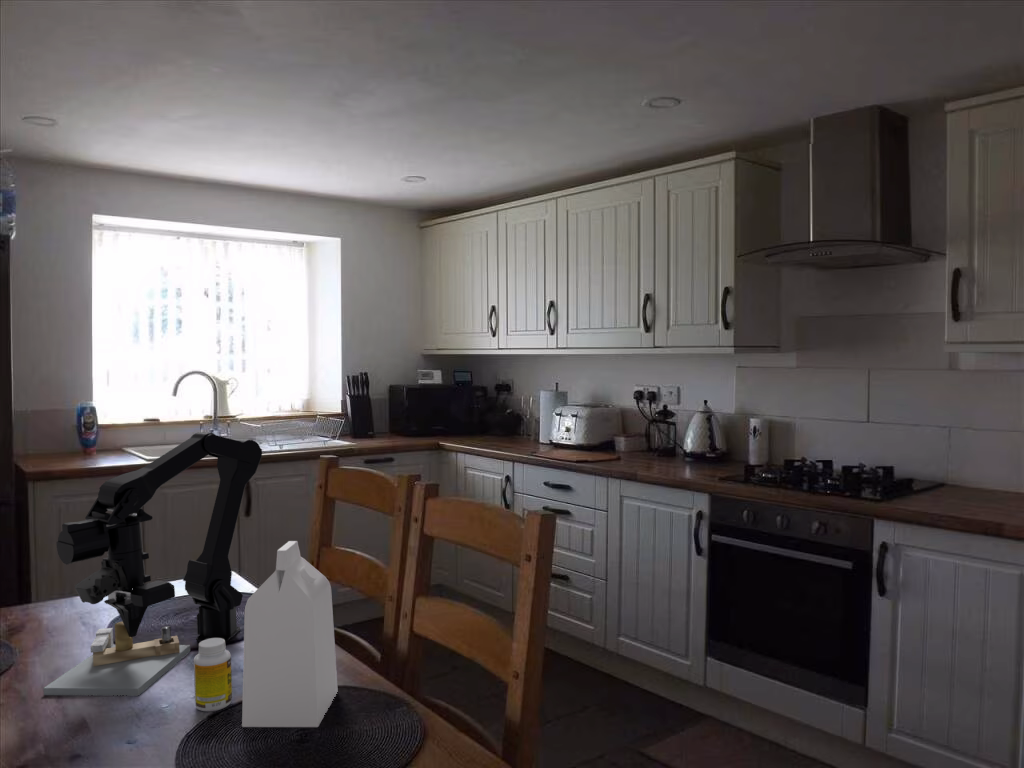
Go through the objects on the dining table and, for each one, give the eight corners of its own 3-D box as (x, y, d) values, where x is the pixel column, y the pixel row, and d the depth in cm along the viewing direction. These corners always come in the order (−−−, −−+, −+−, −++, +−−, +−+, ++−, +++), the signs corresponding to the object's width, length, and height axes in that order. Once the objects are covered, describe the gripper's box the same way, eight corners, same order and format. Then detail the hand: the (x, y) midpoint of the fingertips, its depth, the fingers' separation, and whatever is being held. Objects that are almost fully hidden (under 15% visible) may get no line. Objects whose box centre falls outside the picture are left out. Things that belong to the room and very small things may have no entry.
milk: (268, 692, 132) (264, 536, 131) (337, 692, 132) (333, 536, 130) (241, 726, 120) (236, 556, 119) (317, 727, 120) (313, 555, 118)
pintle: (173, 649, 148) (172, 626, 148) (169, 652, 146) (168, 629, 146) (164, 649, 148) (163, 626, 148) (160, 652, 146) (159, 629, 146)
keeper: (113, 647, 149) (112, 627, 149) (105, 664, 141) (104, 643, 141) (99, 649, 149) (98, 629, 148) (90, 666, 141) (89, 644, 141)
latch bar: (177, 645, 150) (176, 612, 150) (179, 652, 146) (178, 618, 146) (93, 659, 143) (91, 625, 143) (93, 667, 140) (91, 632, 140)
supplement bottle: (234, 708, 126) (232, 644, 126) (196, 716, 124) (194, 651, 123) (230, 694, 131) (228, 633, 131) (193, 701, 129) (191, 639, 128)
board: (190, 651, 150) (190, 645, 150) (138, 695, 131) (137, 688, 131) (107, 650, 151) (107, 644, 151) (43, 695, 132) (43, 688, 132)
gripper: (50, 557, 140) (58, 645, 141) (112, 566, 130) (120, 660, 131) (111, 542, 150) (118, 624, 150) (173, 549, 140) (180, 637, 140)
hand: (132, 636), depth 143 cm, fingers closed
